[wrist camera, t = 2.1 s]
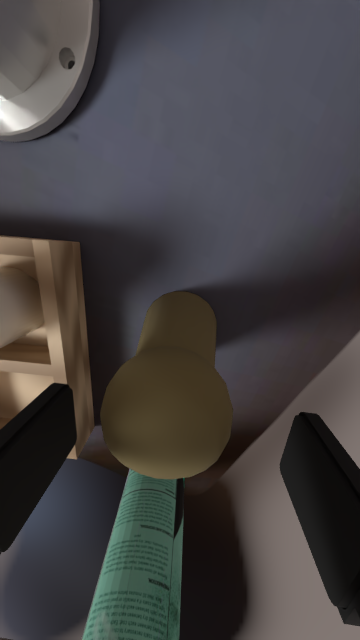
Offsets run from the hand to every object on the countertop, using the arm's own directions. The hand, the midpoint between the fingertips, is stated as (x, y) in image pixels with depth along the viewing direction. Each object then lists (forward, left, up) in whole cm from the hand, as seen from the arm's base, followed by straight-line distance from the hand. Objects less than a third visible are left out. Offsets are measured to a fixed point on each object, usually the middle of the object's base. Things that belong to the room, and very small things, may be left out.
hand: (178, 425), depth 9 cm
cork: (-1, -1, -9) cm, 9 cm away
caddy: (+2, -14, -9) cm, 17 cm away
